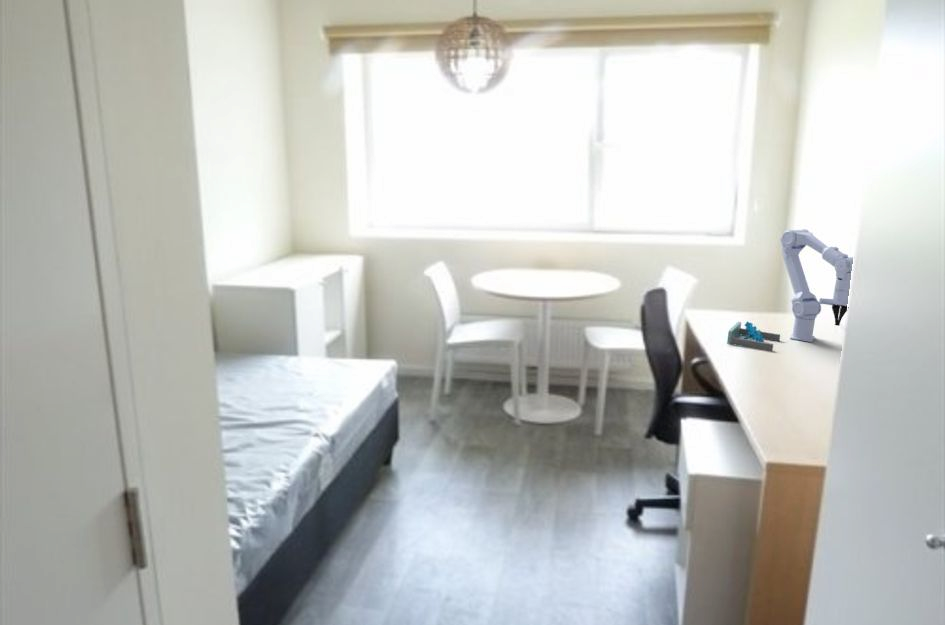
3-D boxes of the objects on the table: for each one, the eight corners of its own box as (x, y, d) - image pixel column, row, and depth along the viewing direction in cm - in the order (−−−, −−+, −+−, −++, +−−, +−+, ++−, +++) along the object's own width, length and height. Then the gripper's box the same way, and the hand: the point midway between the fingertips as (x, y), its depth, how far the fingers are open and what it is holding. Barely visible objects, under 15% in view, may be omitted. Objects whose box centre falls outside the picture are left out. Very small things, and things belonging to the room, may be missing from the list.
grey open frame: (736, 333, 281) (738, 321, 280) (779, 340, 273) (781, 328, 272) (727, 343, 267) (728, 330, 266) (771, 351, 259) (773, 338, 258)
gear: (758, 342, 263) (744, 321, 267) (746, 351, 266) (731, 329, 270) (769, 341, 271) (755, 320, 275) (757, 349, 274) (742, 328, 278)
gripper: (820, 288, 259) (815, 323, 263) (864, 294, 252) (858, 330, 255) (822, 285, 265) (817, 320, 269) (865, 291, 258) (859, 326, 261)
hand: (837, 324), depth 262 cm, fingers closed
